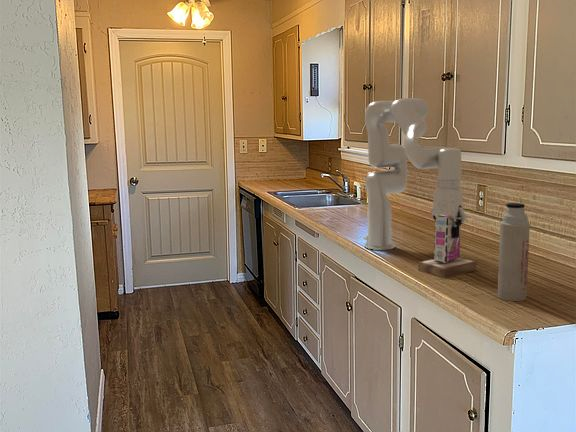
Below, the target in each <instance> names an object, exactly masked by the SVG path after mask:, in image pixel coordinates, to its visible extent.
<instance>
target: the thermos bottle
mask: <svg viewBox="0 0 576 432" xmlns="http://www.w3.org/2000/svg"><path fill="white" fill-rule="evenodd" d="M525 206H526V205H525V203H521V202H520V203H518V202H509V203H506V205H505V207H506V211H505V213H503V215H502V221H500V223H499V245H498V246H499V247H498V250H499V251H498V273H497V297H498V298H499V299H502V300H505V301H511V302H521V301H525V300H526V299H527V290H528V287H527V286H528V269H529V252H530V251H529V248H530V247H529V246H530V230H531V229H530V227H531V225H530V222H528V219H529V218H528V217H529V216H528V215H527V214H526V213H525Z"/></svg>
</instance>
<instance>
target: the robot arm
mask: <svg viewBox="0 0 576 432" xmlns="http://www.w3.org/2000/svg"><path fill="white" fill-rule="evenodd" d="M429 111H430V110H429V106H428V103H427V101H426V100H424V99H422V98H418V97H413V98H412V97H411V98H409V97H408V98H407V97H406V98H398V99H397V100H377V101H373V102H371V103H369V104H368V105H367V107H366V109H365V112H364V123H365V128H366V131H367V147H368V148H367V150H368V152H367V153H368V162H369V166H370V167H372V168H373V169H374V168H375V169H383V168H385V169H386V168H390V170H381V171H380V170H379V171H374V172H371V173H369V174H368V175H367V176H366V177H365V182H364V184H365V189H366V195H367V197H366V198H367V234H365V236H363V240H366V242H365V243H364V244H363V245H364V248H365V247H366V248H365V249H367V248H368V249H367V250H371V249H373V250H372V251H386V250H387V251H389V250H392V249H394V248H395V247H396V245H395V243H394V242H392V203H391V201H390V200H389V198H388V196H387V195H390V194H391V195H392V194H400V193H403V192H404V191H405V190H406V188H407V186H408V160H409V162H410V163H411V164H412V166H414V167H415V168H417V169H418V170H419V169H420V170H427V169H430V170H431V169H437V179H436V184H437V187H435V190H434V194H433V202H432V209H431V210H430V214H431V216H432V218H433V220H434V221H435V215H438V214H442V215H448V216H450V219H452V223H453V227H452V236H451V237H452V238H458V237H459V226H462V224H463V223H464V222H465V221H466V220H467V219H468V216H467V214H466V212H465V211H464V197H463V191H462V189H461V182H462V181H461V180H462V178H461V177H462V151H461V149H460V148H457V147H456V148H455V147H446V146H424V147H422V146H421V145H420V144H419V142H418V140H419V139H420V138H421V137H423V136H424V134H425V133H426V132H427V129H428V124H427V122H426V121H425V119H426V118H427V117H428V115H429ZM384 123H397V125H398V126H399V128H400V130H401V131H402V132H403V134H404V135H405V136H404V140H403V145H401V144H398V143H390V134H389V130H388V128H387V127H386V125H385V124H384ZM460 217H461V218H460ZM455 219H456V220H455ZM456 221H457V222H456Z"/></svg>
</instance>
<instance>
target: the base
mask: <svg viewBox="0 0 576 432" xmlns="http://www.w3.org/2000/svg"><path fill="white" fill-rule="evenodd" d="M477 263H478V262H477V261H474V260H471V259H467V258H466V259H465V258H461V257H459V258H456V259H454V260H452V261H450V262H448V263H440V262H434V258H431V259H427V260H423V261H418V264H417V265H418V266H417V267H418V269H417V270H418V272H419V271H420V272H423V273H427V274H430V275H432V276H436V277H441V278H444V279H446V278H449V277H453V276H458V275H462V274H466V273H471V272H474V271H477Z"/></svg>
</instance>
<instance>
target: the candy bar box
mask: <svg viewBox="0 0 576 432" xmlns="http://www.w3.org/2000/svg"><path fill="white" fill-rule="evenodd" d="M460 218H461V217H460ZM455 220H456V219H455ZM456 222H457V221H456ZM461 226H462V225H461ZM461 226H459V237H458V238H452V237H451V236H452V227H453V223H452V219H450V216H448V215H442V214H438V215H435V220H434V243H433V244H434V245H433V246H434V248H433V259H434V262H440V263H448V262H450V261H452V260H454V259H456V258H460V249H461V229H462V228H461Z"/></svg>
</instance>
